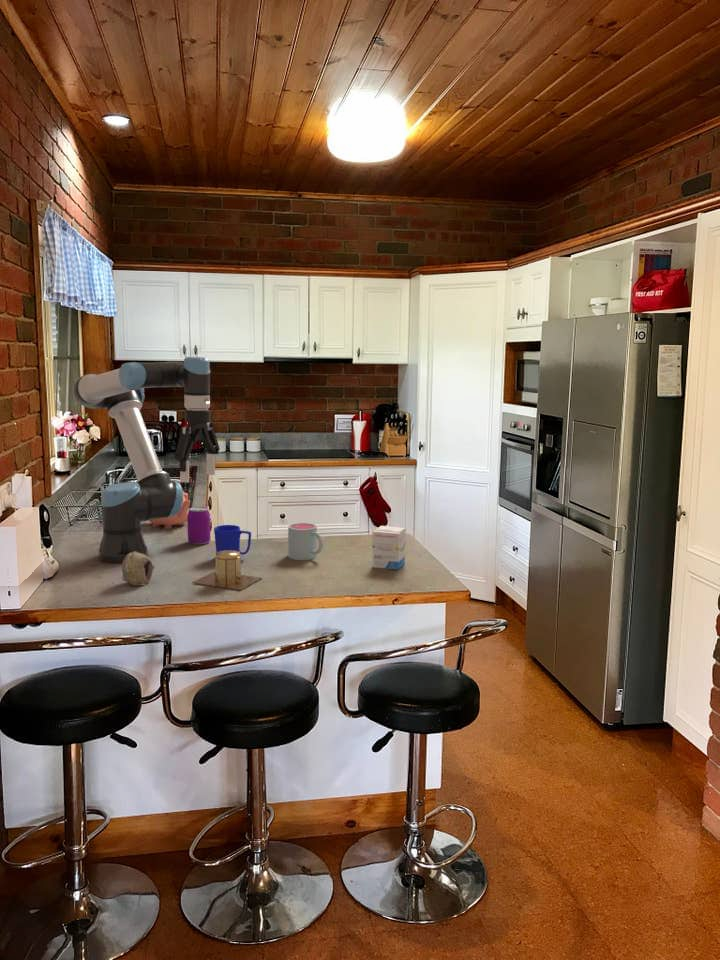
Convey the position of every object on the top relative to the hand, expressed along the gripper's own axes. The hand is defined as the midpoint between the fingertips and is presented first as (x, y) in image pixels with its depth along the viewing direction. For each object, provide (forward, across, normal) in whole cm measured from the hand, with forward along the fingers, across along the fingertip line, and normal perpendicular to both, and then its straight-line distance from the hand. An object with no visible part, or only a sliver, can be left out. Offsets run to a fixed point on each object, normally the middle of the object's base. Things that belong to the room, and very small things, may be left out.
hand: (198, 478), depth 235 cm
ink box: (+26, +24, -55) cm, 65 cm away
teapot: (+29, +36, +39) cm, 60 cm away
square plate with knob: (+27, -12, -18) cm, 34 cm away
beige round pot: (+27, -24, +4) cm, 36 cm away
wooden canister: (+26, -12, -18) cm, 34 cm away
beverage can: (+28, +21, +14) cm, 38 cm away
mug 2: (+27, +20, -28) cm, 44 cm away
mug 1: (+27, +9, -7) cm, 30 cm away
